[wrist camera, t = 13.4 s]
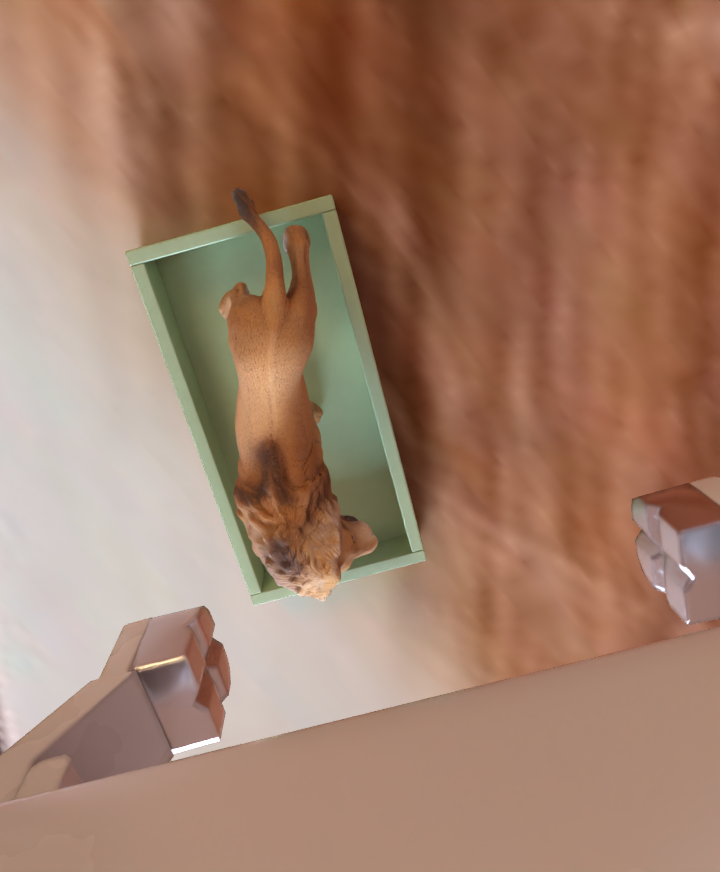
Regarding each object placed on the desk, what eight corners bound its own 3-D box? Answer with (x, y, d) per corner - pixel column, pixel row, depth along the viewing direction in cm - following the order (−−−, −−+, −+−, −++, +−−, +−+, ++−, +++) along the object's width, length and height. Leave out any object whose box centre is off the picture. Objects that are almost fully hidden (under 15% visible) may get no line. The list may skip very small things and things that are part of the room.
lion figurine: (362, 476, 33) (391, 604, 26) (259, 498, 33) (257, 633, 26) (299, 172, 26) (312, 225, 18) (165, 199, 26) (121, 264, 18)
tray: (139, 249, 29) (124, 251, 27) (330, 196, 29) (332, 194, 26) (257, 580, 34) (253, 606, 32) (419, 537, 34) (427, 560, 32)
